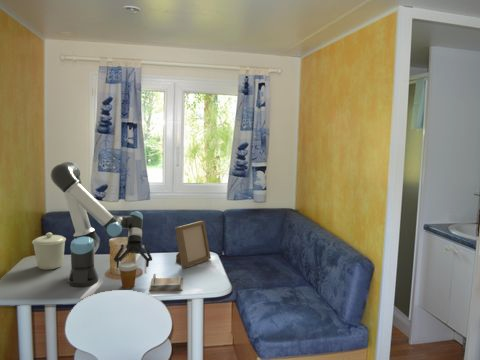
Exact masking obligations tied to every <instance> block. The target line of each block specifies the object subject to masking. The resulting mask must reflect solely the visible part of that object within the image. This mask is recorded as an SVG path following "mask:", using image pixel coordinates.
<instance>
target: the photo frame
mask: <svg viewBox="0 0 480 360" xmlns="http://www.w3.org/2000/svg"><path fill="white" fill-rule="evenodd" d="M174 230H175V236H176V242H177V247H178V252H177V254H176V256H175V262H180V265H181V268H182V269H186V268H191V267H192V266H196V265H198V264H201V263H203V262H205V261H208V260H211V252H210V245H209V241H208V240H209V239H208V235H207V229H206V221H205V220H200V221H199V220H198V221H196V222H195V221H194V222H192V223H188V224H184V225H180V226H175V227H174Z"/></svg>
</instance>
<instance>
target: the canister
mask: <svg viewBox="0 0 480 360" xmlns="http://www.w3.org/2000/svg"><path fill="white" fill-rule="evenodd" d="M66 240H67V238H66V237H64V236H63V235H61V234H60V235H59V234H53V233H52V232H49V231H48V232H47V233H45V235H42V236H39V237H36V238H35V239H34V240H32V242H31V243H32V245H33V249H34V255H35V261H36V265H37V267H38V268H39V269H41V270H43V271H44V270H45V271H48V270H56V269H58V268H60V267H61V266H62V265H63V263H64V258H65V257H64V255H65V246H66V245H65V244H66Z"/></svg>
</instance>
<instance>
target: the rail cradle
mask: <svg viewBox="0 0 480 360" xmlns="http://www.w3.org/2000/svg"><path fill="white" fill-rule="evenodd" d="M156 275H157V274H156V273H153V275H152V278H151V281H150V285H149V288H148V292H149V291H154V292H181V291H183V283H184V282H183V280H184V277H182V273H181V272H180V273H178V277H160V278H159V277H158V278H156V277H157V276H156Z"/></svg>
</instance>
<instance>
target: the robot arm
mask: <svg viewBox="0 0 480 360" xmlns="http://www.w3.org/2000/svg"><path fill="white" fill-rule="evenodd" d="M80 176H81V170H80V168H79V166H78V165H77V164H76V163H74V162H70V161H69V162H68V161H65V162H62V163H60V164H57V165H55V166H54V167H52V169H51V172H50V179H51V181H52V183H53V184H54V185H55V186H56V187H57V188H58V189H59V190H60V191H62V192H63V194H64V197H65V200H66V204H67V207H68V210H69V215H70V218H71V221H72V226H73V228H74V231H75V232H74V233H73V238H74V239H72V241H71V242H70V249H69V250H70V266H71V270H70V273H69V275H68V277H67V278H68V279H67V280H68V282H67V283H68V285H69V286H70V287H71V286H72V287H76V288H77V287H80V288H81V287H87V286H88V287H89V286H92V285H94V284H96V283H98V281H99V276H98V271H97V270H96V266H95V254H96V252H98V251H97V250H98V249H99V248H100V243H101V239H100V236H98V234H97V233H96V230H95V228H94V227H92V226H91V222H90V219H89V216H88V213H89V215H90V216H91V217H92V218H93V219H95V220H96V221H97V223H99V224H100V226H102V227H103V228H104V229H105V230H106V232H107V235H109V236H110V237H113V238H115V237H118V236H119V235H120V234H121V233H122V231H123V230H128V234H127V244H126V245H124V244H123V243H122V244H121V246H120V248H119V250H118V251H117V253H116V254H115V256H114V258H113V261H114V263H116V268H117V273H118V274H117V275H121V274H120V269H119V266H120V264H121V263H122V262H121V261H122V260H124V259H125V258H126V257H127V256H128V255H129V254H139V255H140V256H141V257H142V258H143V259H144V270H143V271H144V274H147V268H148V267H149V264H150V261H153V256H152V255H151V253H150V250H149V249H148V244H146V243H144V244H142V241H143V240H142V237H143V225H144V224H143V223H144V215H143V214H142V212H139V211H133V212H130V213H129V215H113V214H111V212H110V211H108V210H107V208H105V206H103V204H101V202H99V201H98V200H97V199H96V198H94V196H93V195H92V194H91V193H90V192H89V191H87V189H86V188H85V187H83V185H82V181H81V177H80ZM142 249H144V252H145V253H146V254H145V253H144V252H143V251H142ZM124 250H125V251H124Z"/></svg>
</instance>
